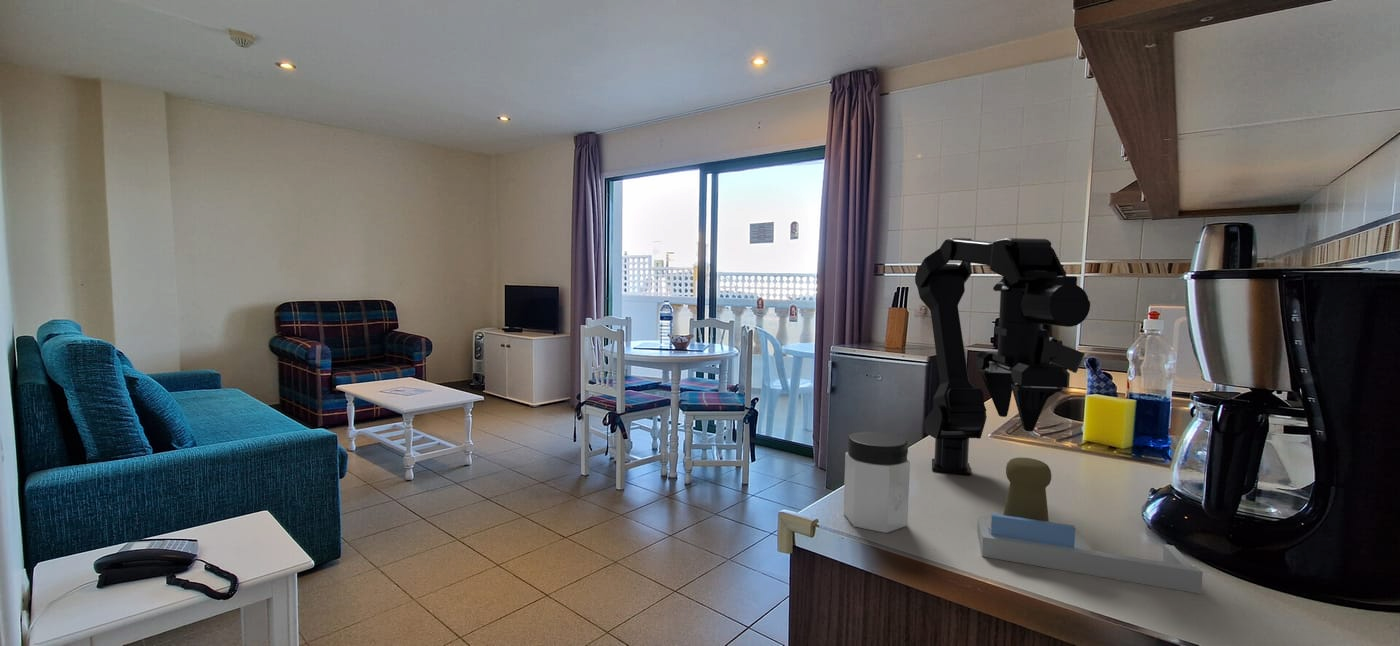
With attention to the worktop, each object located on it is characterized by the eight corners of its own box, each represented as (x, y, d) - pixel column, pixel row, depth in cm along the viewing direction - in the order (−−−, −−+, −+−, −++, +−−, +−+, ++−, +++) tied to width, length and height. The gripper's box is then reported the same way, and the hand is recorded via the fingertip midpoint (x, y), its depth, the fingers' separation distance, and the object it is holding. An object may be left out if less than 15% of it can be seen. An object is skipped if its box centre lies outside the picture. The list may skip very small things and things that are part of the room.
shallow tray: (976, 528, 80) (978, 493, 80) (1169, 558, 72) (1172, 519, 72) (982, 556, 72) (984, 517, 72) (1200, 593, 64) (1204, 550, 63)
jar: (877, 538, 77) (880, 450, 76) (832, 517, 84) (834, 436, 83) (918, 523, 82) (922, 441, 81) (872, 504, 88) (875, 428, 88)
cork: (1012, 527, 80) (1016, 450, 79) (1059, 544, 75) (1064, 461, 74) (990, 538, 76) (994, 457, 76) (1038, 556, 71) (1043, 470, 71)
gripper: (1114, 327, 76) (1107, 442, 77) (1047, 319, 95) (1042, 412, 96) (1026, 325, 78) (1020, 439, 79) (976, 317, 96) (972, 409, 97)
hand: (1015, 423), depth 88 cm, fingers open, 9 cm apart
